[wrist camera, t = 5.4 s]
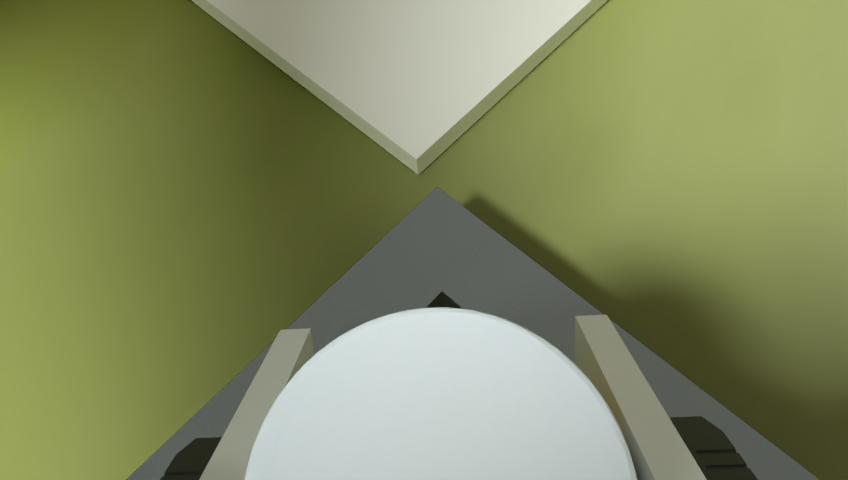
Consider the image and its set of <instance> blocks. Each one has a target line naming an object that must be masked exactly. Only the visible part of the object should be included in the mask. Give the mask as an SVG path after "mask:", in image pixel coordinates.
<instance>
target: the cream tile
mask: <svg viewBox="0 0 848 480" xmlns="http://www.w3.org/2000/svg"><path fill="white" fill-rule="evenodd" d="M191 1H192V2H194V3H195V4H196V5H198V6H199V7H200V8H202V9H203V10H204V11H205V12H207V13H208V14H209V15H211V16H212V17H213V18H215V19H216V20H217V21H219V22H220V23H221V24H222V25H224V26H225V27H226V28H228V29H229V30H230V31H232V32H233V33H234V34H235V35H237V36H238V37H239V38H241V39H242V40H243V41H245V42H246V43H247V44H248V45H250V46H251V47H252V48H254V49H255V50H256V51H258V52H259V53H260V54H261V55H263V56H264V57H265V58H267V59H268V60H269V61H271V62H272V63H273V64H275V65H276V66H277V67H278V68H280V69H281V70H282V71H284V72H285V73H286V74H288V75H289V76H290V77H291V78H293V79H294V80H295V81H297V82H298V83H299V84H301V85H302V86H303V87H304V88H306V89H307V90H308V91H310V92H311V93H312V94H314V95H315V96H316V97H317V98H319V99H320V100H321V101H323V102H324V103H325V104H327V105H328V106H329V107H331V108H332V109H333V110H334V111H336V112H337V113H338V114H340V115H341V116H342V117H344V118H345V119H346V120H347V121H349V122H350V123H351V124H353V125H354V126H355V127H357V128H358V129H359V130H360V131H362V132H363V133H364V134H366V135H367V136H368V137H370V138H371V139H372V140H373V141H375V142H376V143H377V144H379V145H380V146H381V147H383V148H384V149H385V150H387V151H388V152H389V153H390V154H392V155H393V156H394V157H396V158H397V159H398V160H400V161H401V162H402V163H403V164H405V165H406V166H407V167H409V168H410V169H411V170H413V171H414V172H415V173H416V174H418V175H419V174H420V173H421V172H422V171H423V170H424V169H425V168H426V167H428V166H429V165H430V164H431V163H432V162H433V161H434V160H435V159H436V158H437V157H438V156H439V155H441V154H442V153H443V152H444V151H445V150H446V149H447V148H448V147H449V146H450V145H451V144H453V143H454V142H455V141H456V140H457V139H458V138H459V137H460V136H461V135H462V134H463V133H464V132H466V131H467V130H468V129H469V128H470V127H471V126H472V125H473V124H474V123H475V122H476V121H477V120H479V119H480V118H481V117H482V116H483V115H484V114H485V113H486V112H487V111H488V110H489V109H491V108H492V107H493V106H494V105H495V104H496V103H497V102H498V101H499V100H500V99H501V98H502V97H504V96H505V95H506V94H507V93H508V92H509V91H510V90H511V89H512V88H513V87H514V86H515V85H517V84H518V83H519V82H520V81H521V80H522V79H523V78H524V77H525V76H526V75H527V74H528V73H530V72H531V71H532V70H533V69H534V68H535V67H536V66H537V65H538V64H539V63H540V62H542V61H543V60H544V59H545V58H546V57H547V56H548V55H549V54H550V53H551V52H552V51H553V50H555V49H556V48H557V47H558V46H559V45H560V44H561V43H562V42H563V41H564V40H565V39H566V38H568V37H569V36H570V35H571V34H572V33H573V32H574V31H575V30H576V29H577V28H578V27H580V26H581V25H582V24H583V23H584V22H585V21H586V20H587V19H588V18H589V17H590V16H591V15H593V14H594V13H595V12H596V11H597V10H598V9H599V8H600V7H601V6H602V5H603V4H604V3H606V2H607V1H608V0H191Z"/></svg>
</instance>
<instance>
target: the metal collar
mask: <svg viewBox="0 0 848 480" xmlns="http://www.w3.org/2000/svg"><path fill="white" fill-rule="evenodd" d="M434 307H449V308H458V309H467V310H474V311H479V312H483V313H487V314H491V315H494V316H497V317H501V318H504V319H507V320H509V321H511V322H513V323H515V324H518V325H520V326H522V327H524V328H526V329H528V330H530V331H531V332H533V333H535V334H536V335H538V336H540V337H542V338H543V339H545V340H546V341H548V342H549V343H550V344H552V345H553V346H555V347H556V348H557V349H559V350H560V351H561V352H562V353H564V354H565V355H566V356H567V357H568V358H569V359H570V360H571V361H573V362H574V363H575V316H586V315H604V314H603V313H601V312H600V311H599V310H597V309H596V308H595V307H593V306H592V305H591V304H590V303H588V302H587V301H586V300H584V299H583V298H582V297H580V296H579V295H578V294H577V293H575V292H574V291H573V290H571V289H570V288H569V287H567V286H566V285H565V284H563V283H562V282H561V281H560V280H558V279H557V278H556V277H554V276H553V275H552V274H550V273H549V272H548V271H546V270H545V269H544V268H543V267H541V266H540V265H539V264H537V263H536V262H535V261H533V260H532V259H531V258H530V257H528V256H527V255H526V254H524V253H523V252H522V251H520V250H519V249H518V248H516V247H515V246H514V245H513V244H511V243H510V242H509V241H507V240H506V239H505V238H503V237H502V236H501V235H499V234H498V233H497V232H496V231H494V230H493V229H492V228H490V227H489V226H488V225H486V224H485V223H484V222H482V221H481V220H480V219H479V218H477V217H476V216H475V215H473V214H472V213H471V212H469V211H468V210H467V209H466V208H464V207H463V206H462V205H460V204H459V203H458V202H456V201H455V200H454V199H452V198H451V197H450V196H449V195H447V194H446V193H445V192H443V191H442V190H441V189H439V188H438V187H437V188H435V189H434V190H433V191H432V192H431V193H430V194H429V195H428V196H427V197H426V198H425V199H424V200H423V201H422V202H421V203H420V204H418V205H417V206H416V207H415V208H414V209H413V210H412V211H411V212H410V213H409V214H408V215H407V216H406V217H405V218H404V219H403V220H401V221H400V222H399V223H398V224H397V225H396V226H395V227H394V228H393V229H392V230H391V231H390V232H389V233H388V234H387V235H386V236H384V237H383V238H382V239H381V240H380V241H379V242H378V243H377V244H376V245H375V246H374V247H373V248H372V249H371V250H370V251H369V252H367V253H366V254H365V255H364V256H363V257H362V258H361V259H360V260H359V261H358V262H357V263H356V264H355V265H354V266H353V267H352V268H350V269H349V270H348V271H347V272H346V273H345V274H344V275H343V276H342V277H341V278H340V279H339V280H338V281H337V282H336V283H335V284H333V285H332V286H331V287H330V288H329V289H328V290H327V291H326V292H325V293H324V294H323V295H322V296H321V297H320V298H319V299H318V300H316V301H315V302H314V303H313V304H312V305H311V306H310V307H309V308H308V309H307V310H306V311H305V312H304V313H303V314H302V315H301V316H299V317H298V318H297V319H296V320H295V321H294V322H293V323H292V324H291V325H290V326H289V327H288V328H287V329H307V328H311V335H312V343H313V351H314V355H315V354H316V353H317V352H318V351H320V350H321V349H322V348H324V347H325V346H326V345H328V344H329V343H330V342H332V341H333V340H335V339H336V338H338V337H339V336H341V335H343V334H344V333H346V332H348V331H349V330H351V329H354V328H356V327H358V326H360V325H362V324H364V323H366V322H368V321H371V320H373V319H376V318H379V317H382V316H386V315H389V314H393V313H397V312H401V311H405V310H411V309H418V308H434ZM610 321H611V322H612V324H613V326H614V327H615V329H616V331H617V332H618V334H619V336H620V337H621V339H622V341H623V342H624V344H625V346H626V347H627V349H628V351H629V352H630V354H631V355H632V357H633V359H634V360H635V362H636V364H637V365H638V367H639V369H640V370H641V372H642V374H643V375H644V377H645V379H646V380H647V382H648V384H649V385H650V387H651V388H652V390H653V392H654V393H655V395H656V397H657V398H658V400H659V402H660V403H661V405H662V407H663V408H664V410H665V412H666V413H667V415H668V416H669V417H692V416H702V417H703V418H705V419H706V420H707V421H709V422H710V423H712V424H713V425H715V426H716V427H718V428H719V429H720V430H722V431H723V432H724V433H725V435H726V436H727V438H728V439H729V440H730V442H731V443H732V444H733V446H734V447H735V449H736V452H737V453H739V454H740V456H741V457H742V458H743V460H744V461H745V462H746V464H747V468H750V469H751V471H752V472H753V474H754V475H755V476H756V478H757V479H758V480H819V479H818V478H817V477H815V476H814V475H813V474H812V473H810V472H809V471H808V470H806V469H805V468H804V467H802V466H801V465H800V464H798V463H797V462H796V461H795V460H793V459H792V458H791V457H789V456H788V455H787V454H785V453H784V452H783V451H782V450H780V449H779V448H778V447H776V446H775V445H774V444H772V443H771V442H770V441H768V440H767V439H766V438H765V437H763V436H762V435H761V434H759V433H758V432H757V431H755V430H754V429H753V428H751V427H750V426H749V425H748V424H746V423H745V422H744V421H742V420H741V419H740V418H738V417H737V416H736V415H735V414H733V413H732V412H731V411H729V410H728V409H727V408H725V407H724V406H723V405H721V404H720V403H719V402H718V401H716V400H715V399H714V398H712V397H711V396H710V395H708V394H707V393H706V392H704V391H703V390H702V389H701V388H699V387H698V386H697V385H695V384H694V383H693V382H691V381H690V380H689V379H687V378H686V377H685V376H684V375H682V374H681V373H680V372H678V371H677V370H676V369H674V368H673V367H672V366H671V365H669V364H668V363H667V362H665V361H664V360H663V359H661V358H660V357H659V356H657V355H656V354H655V353H654V352H652V351H651V350H650V349H648V348H647V347H646V346H644V345H643V344H642V343H640V342H639V341H638V340H637V339H635V338H634V337H633V336H631V335H630V334H629V333H627V332H626V331H625V330H624V329H622V328H621V327H620V326H618V325H617V324H616V323H614V322H613V321H612V320H610ZM273 342H274V341H273ZM273 342H272V343H271V344H270V345H269V346H268V347H267V348H265V349H264V350H263V351H262V352H261V353H260V354H259V355H258V356H257V357H256V358H255V359H254V360H253V361H252V362H251V363H250V364H248V365H247V366H246V367H245V368H244V369H243V370H242V371H241V372H240V373H239V374H238V375H237V376H236V377H235V378H234V379H233V380H231V381H230V382H229V383H228V384H227V385H226V386H225V387H224V388H223V389H222V390H221V391H220V392H219V393H218V394H217V395H216V396H214V397H213V398H212V399H211V400H210V401H209V402H208V403H207V404H206V405H205V406H204V407H203V408H202V409H201V410H200V411H199V412H198V413H196V414H195V415H194V416H193V417H192V418H191V419H190V420H189V421H188V422H187V423H186V424H185V425H184V426H183V427H182V428H181V429H179V430H178V431H177V432H176V433H175V434H174V435H173V436H172V437H171V438H170V439H169V440H168V441H167V442H166V443H165V444H164V445H162V446H161V447H160V448H159V449H158V450H157V451H156V452H155V453H154V454H153V455H152V456H151V457H150V458H149V459H148V460H147V461H145V462H144V463H143V464H142V465H141V466H140V467H139V468H138V469H137V470H136V471H135V472H134V473H133V474H132V475H131V476H130V477H128V478H127V479H126V480H160V479H161V477H162V476H164V473H165V471H166V469H167V468H168V466H169V465H170V463H171V462H172V460H173V458H174V457H175V455H176V454H177V453H178V452H180V451H181V450H182V449H183V448H184V447H186V446H187V445H188V444H189V443H191V442H192V441H193V440H194V439H195V438H212V437H223V435H224V433H225V431H226V429H227V427H228V426H229V424H230V422H231V420H232V418H233V416H234V414H235V413H236V411H237V409H238V407H239V405H240V403H241V401H242V400H243V398H244V396H245V394H246V392H247V390H248V388H249V387H250V385H251V383H252V381H253V379H254V377H255V376H256V374H257V372H258V370H259V368H260V366H261V364H262V363H263V361H264V359H265V357H266V355H267V353H268V351H269V350H270V348H271V346H272V344H273Z"/></svg>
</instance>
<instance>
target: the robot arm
mask: <svg viewBox="0 0 848 480" xmlns="http://www.w3.org/2000/svg"><path fill="white" fill-rule="evenodd" d="M313 356H314V351H313V343H312V335H311V328H307V329H285V330H280V331H279V333H278V335H277V337H276V338H275V340H274V342H273V344H272V346H271V348H270V350H269V351H268V353H267V355H266V357H265V359H264V361H263V363H262V364H261V366H260V368H259V370H258V372H257V374H256V376H255V377H254V379H253V381H252V383H251V385H250V387H249V388H248V390H247V392H246V394H245V396H244V398H243V400H242V401H241V403H240V405H239V407H238V409H237V411H236V413H235V414H234V416H233V418H232V420H231V422H230V424H229V426H228V427H227V429H226V431H225V433H224V435H223V437H212V438H195V439H194V440H193V441H192V442H191V443H189V444H188V445H187V446H186V447H184V448H183V449H182V450H181V451H180V452H178V453H177V454H176V455H175V457H174V458H173V460H172V462H171V463H170V465H169V466H168V468H167V469H166V471H165V473H164V476H162V477H161V479H160V480H245V475H246V471H247V467H248V463H249V459H250V455H251V451H252V448H253V445H254V443H255V440H256V438H257V436H258V433H259V431H260V428H261V426H262V424H263V421H264V419H265V418H266V416H267V414H268V412H269V410H270V409H271V407H272V405H273V403H274V402H275V400H276V399H277V397H278V396H279V394H280V393H281V391H282V390H283V389H284V388H285V386H286V385H287V384H288V383H289V381H290V380H291V379H292V378H293V376H294V375H295V374H296V373H297V372H298V371H299V370H300V368H301V367H302V366H303V365H304V364H305V363H306V362H307V361H308V360H309V359H311V358H312V357H313ZM575 364H576V365H577V366H578V367H579V368H580V369H581V370H582V372H583V373H584V374H585V375H586V376H587V377H588V378H589V379H590V381H591V382H592V383H593V385H594V386H595V387H596V388H597V390H598V391H599V392H600V394H601V395H602V397H603V398H604V400H605V401H606V403H607V404H608V406H609V407H610V409H611V411H612V413H613V415H614V417H615V419H616V421H617V422H618V424H619V426H620V428H621V430H622V433H623V435H624V438H625V440H626V443H627V445H628V448H629V451H630V455H631V458H632V461H633V464H634V468H635V471H636V474H637V479H638V480H758V479H757V478H756V476H755V475H754V474H753V472H752V471H751V469H750V468H747V464H746V462H745V461H744V460H743V458H742V457H741V456H740V454H739V453H737V452H736V449H735V447H734V446H733V444H732V443H731V442H730V440H729V439H728V438H727V436H726V435H725V433H724V432H723V431H722V430H720V429H719V428H718V427H716V426H715V425H713V424H712V423H710V422H709V421H707V420H706V419H705V418H703V417H702V416H692V417H669V416H668V415H667V413H666V412H665V410H664V408H663V407H662V405H661V403H660V402H659V400H658V398H657V397H656V395H655V393H654V392H653V390H652V388H651V387H650V385H649V384H648V382H647V380H646V379H645V377H644V375H643V374H642V372H641V370H640V369H639V367H638V365H637V364H636V362H635V360H634V359H633V357H632V355H631V354H630V352H629V351H628V349H627V347H626V346H625V344H624V342H623V341H622V339H621V337H620V336H619V334H618V332H617V331H616V329H615V327H614V326H613V324H612V322H611V321H610V319H609V318H608V316H607V315H586V316H575Z"/></svg>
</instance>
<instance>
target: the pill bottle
mask: <svg viewBox="0 0 848 480" xmlns="http://www.w3.org/2000/svg"><path fill="white" fill-rule="evenodd" d="M245 480H638V479H637V474H636V471H635V468H634V464H633V461H632V458H631V455H630V451H629V448H628V445H627V443H626V440H625V438H624V435H623V433H622V430H621V428H620V426H619V424H618V422H617V421H616V419H615V417H614V415H613V413H612V411H611V409H610V407H609V406H608V404H607V403H606V401H605V400H604V398H603V397H602V395H601V394H600V392H599V391H598V390H597V388H596V387H595V386H594V385H593V383H592V382H591V381H590V379H589V378H588V377H587V376H586V375H585V374H584V373H583V372H582V370H581V369H580V368H579V367H578V366H577V365H576V364H575V363H574V362H573V361H571V360H570V359H569V358H568V357H567V356H566V355H565V354H564V353H562V352H561V351H560V350H559V349H557V348H556V347H555V346H553V345H552V344H550V343H549V342H548V341H546V340H545V339H543V338H542V337H540V336H538V335H536V334H535V333H533V332H531V331H530V330H528V329H526V328H524V327H522V326H520V325H518V324H515V323H513V322H511V321H509V320H507V319H504V318H501V317H497V316H494V315H491V314H487V313H483V312H479V311H474V310H467V309H458V308H449V307H434V308H418V309H411V310H405V311H401V312H397V313H393V314H389V315H386V316H382V317H379V318H376V319H373V320H371V321H368V322H366V323H364V324H362V325H360V326H358V327H356V328H354V329H351V330H349V331H348V332H346V333H344V334H343V335H341V336H339V337H338V338H336V339H335V340H333V341H332V342H330V343H329V344H328V345H326V346H325V347H324V348H322V349H321V350H320V351H318V352H317V353H316V354H315V355H314V356H313V357H312V358H311V359H309V360H308V361H307V362H306V363H305V364H304V365H303V366H302V367H301V368H300V370H299V371H298V372H297V373H296V374H295V375H294V376H293V378H292V379H291V380H290V381H289V383H288V384H287V385H286V386H285V388H284V389H283V390H282V391H281V393H280V394H279V396H278V397H277V399H276V400H275V402H274V403H273V405H272V407H271V409H270V410H269V412H268V414H267V416H266V418H265V419H264V421H263V424H262V426H261V428H260V431H259V433H258V436H257V438H256V440H255V443H254V445H253V448H252V451H251V455H250V459H249V463H248V467H247V471H246V475H245Z"/></svg>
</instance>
